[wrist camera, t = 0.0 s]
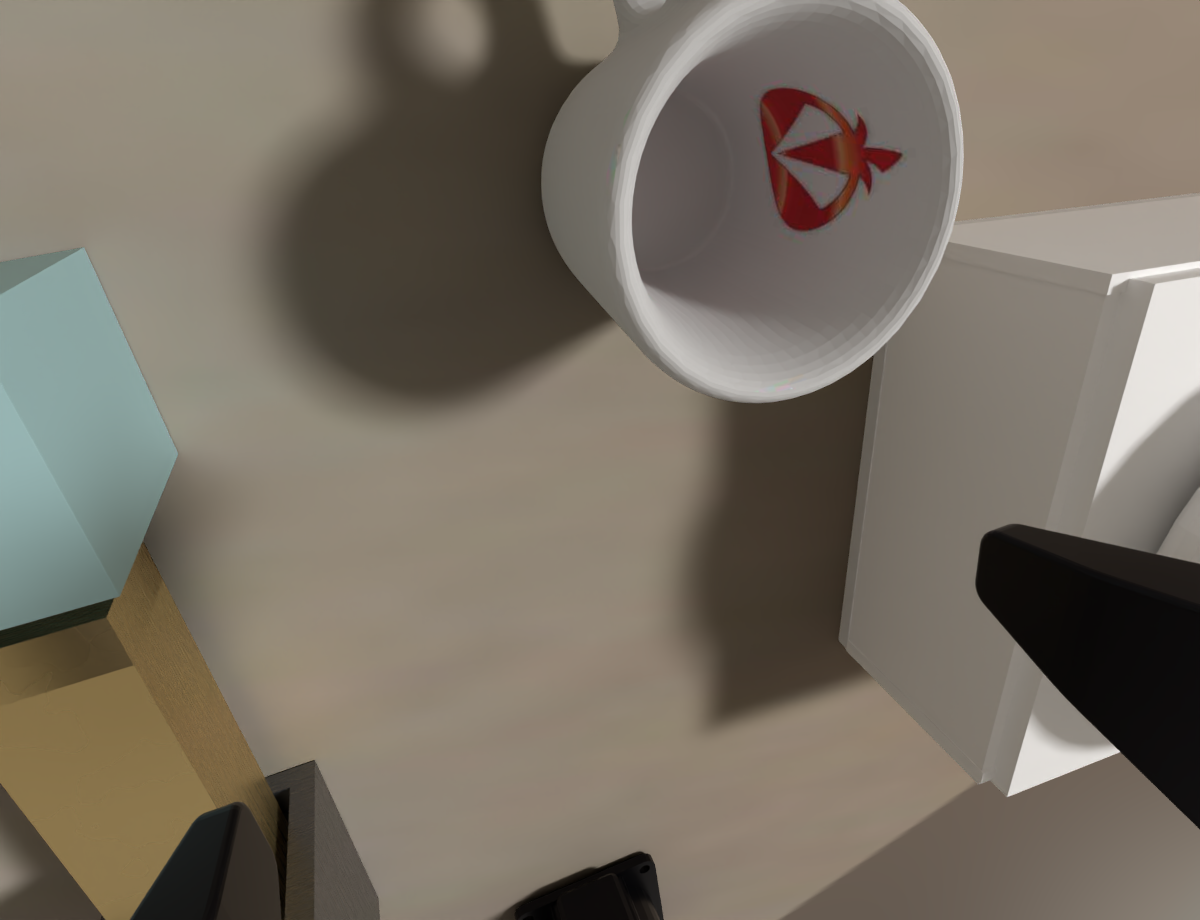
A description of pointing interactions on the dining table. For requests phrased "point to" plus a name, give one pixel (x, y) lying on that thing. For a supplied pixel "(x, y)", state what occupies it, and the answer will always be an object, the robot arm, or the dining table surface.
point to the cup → (758, 186)
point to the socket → (70, 441)
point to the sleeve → (319, 853)
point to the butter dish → (1023, 459)
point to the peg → (122, 740)
